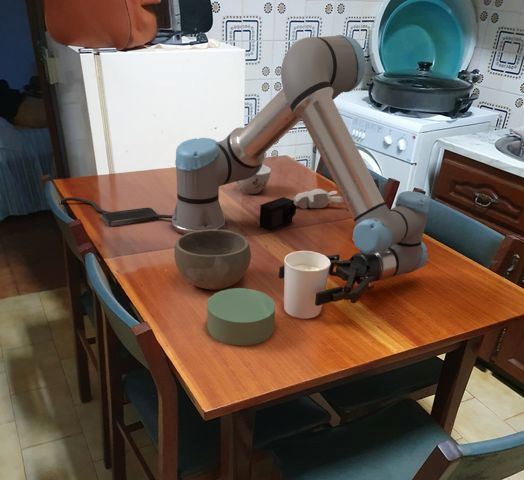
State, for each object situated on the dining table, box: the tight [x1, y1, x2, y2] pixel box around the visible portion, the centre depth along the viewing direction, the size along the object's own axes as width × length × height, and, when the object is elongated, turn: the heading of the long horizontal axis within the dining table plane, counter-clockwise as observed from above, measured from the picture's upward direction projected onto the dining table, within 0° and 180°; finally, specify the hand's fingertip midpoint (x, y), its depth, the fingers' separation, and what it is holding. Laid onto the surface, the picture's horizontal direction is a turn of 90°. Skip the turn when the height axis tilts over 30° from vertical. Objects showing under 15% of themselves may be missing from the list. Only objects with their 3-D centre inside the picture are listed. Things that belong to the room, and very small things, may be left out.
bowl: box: [173, 229, 252, 290], centre depth 129 cm, size 17×18×10 cm
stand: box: [206, 287, 276, 347], centre depth 113 cm, size 14×14×6 cm
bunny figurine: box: [292, 188, 344, 210], centre depth 176 cm, size 10×5×15 cm
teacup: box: [235, 164, 272, 195], centre depth 185 cm, size 15×12×8 cm
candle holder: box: [283, 250, 331, 320], centre depth 119 cm, size 10×10×12 cm
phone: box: [101, 207, 159, 227], centre depth 160 cm, size 8×1×15 cm
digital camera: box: [258, 196, 297, 232], centre depth 160 cm, size 10×5×7 cm, turn 138°
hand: (297, 285), depth 118 cm, fingers open, 13 cm apart
